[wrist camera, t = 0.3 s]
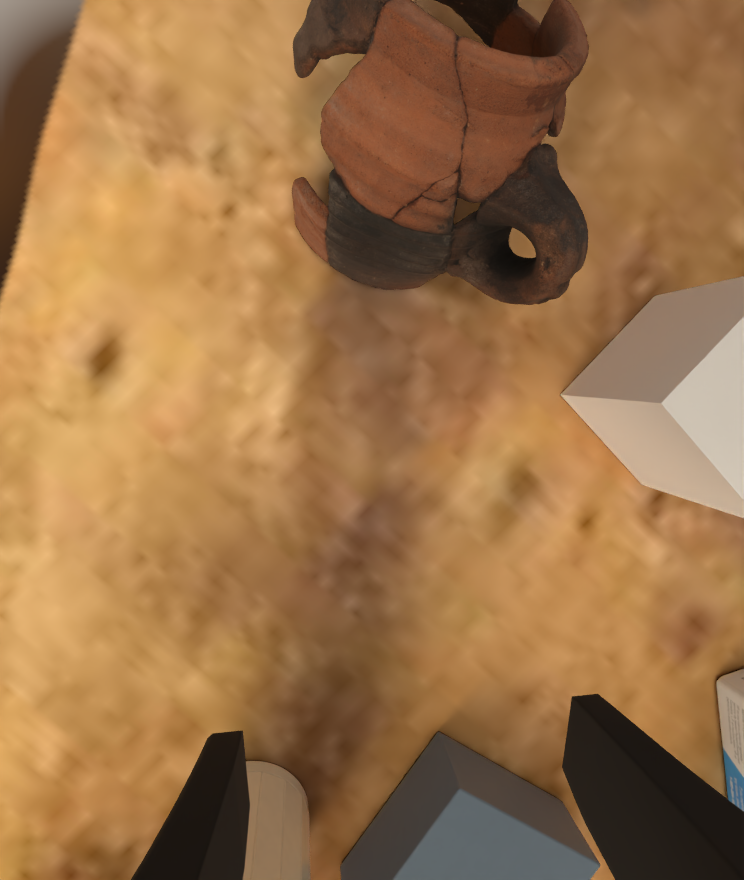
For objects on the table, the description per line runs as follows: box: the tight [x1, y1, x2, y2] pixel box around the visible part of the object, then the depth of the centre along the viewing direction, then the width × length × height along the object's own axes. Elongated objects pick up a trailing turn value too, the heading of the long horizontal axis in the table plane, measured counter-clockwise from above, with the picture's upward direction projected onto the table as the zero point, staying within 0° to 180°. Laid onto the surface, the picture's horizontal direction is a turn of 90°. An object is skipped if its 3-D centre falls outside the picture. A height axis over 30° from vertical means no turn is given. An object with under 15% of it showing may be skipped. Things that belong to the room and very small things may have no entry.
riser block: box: [340, 732, 600, 880], centre depth 22 cm, size 8×8×3 cm
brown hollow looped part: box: [292, 0, 589, 305], centre depth 16 cm, size 12×10×8 cm
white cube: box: [560, 276, 744, 518], centre depth 18 cm, size 6×6×6 cm
